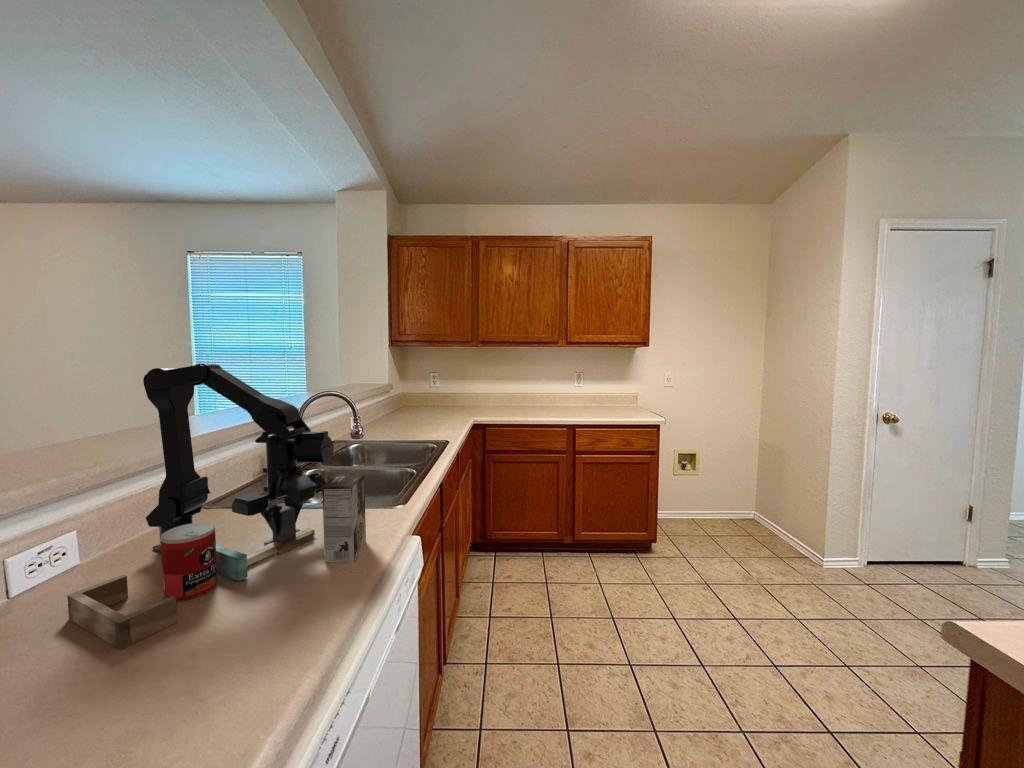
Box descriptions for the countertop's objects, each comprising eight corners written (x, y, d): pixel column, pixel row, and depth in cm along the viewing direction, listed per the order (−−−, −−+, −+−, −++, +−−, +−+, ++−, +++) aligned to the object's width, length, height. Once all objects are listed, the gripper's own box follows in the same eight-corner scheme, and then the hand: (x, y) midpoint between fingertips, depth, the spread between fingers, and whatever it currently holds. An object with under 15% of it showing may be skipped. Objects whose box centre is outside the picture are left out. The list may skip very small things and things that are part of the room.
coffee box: (337, 543, 93) (336, 473, 92) (367, 542, 94) (365, 472, 93) (322, 563, 84) (320, 485, 83) (355, 561, 85) (353, 484, 84)
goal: (68, 619, 66) (67, 595, 66) (124, 596, 72) (123, 574, 72) (120, 650, 59) (119, 623, 59) (177, 621, 65) (175, 597, 65)
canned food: (189, 604, 70) (185, 541, 69) (151, 599, 71) (147, 537, 71) (228, 580, 77) (226, 523, 77) (193, 576, 79) (190, 520, 78)
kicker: (204, 568, 81) (202, 527, 81) (295, 530, 99) (294, 496, 99) (238, 581, 77) (237, 537, 76) (327, 538, 95) (326, 502, 94)
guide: (264, 550, 89) (264, 542, 89) (297, 536, 97) (297, 528, 97) (281, 555, 87) (280, 547, 87) (313, 540, 94) (313, 532, 94)
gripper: (264, 478, 78) (267, 558, 79) (342, 456, 95) (344, 522, 96) (228, 471, 83) (231, 546, 84) (309, 452, 99) (311, 515, 100)
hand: (284, 531), depth 91 cm, fingers closed on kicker, 3 cm apart
